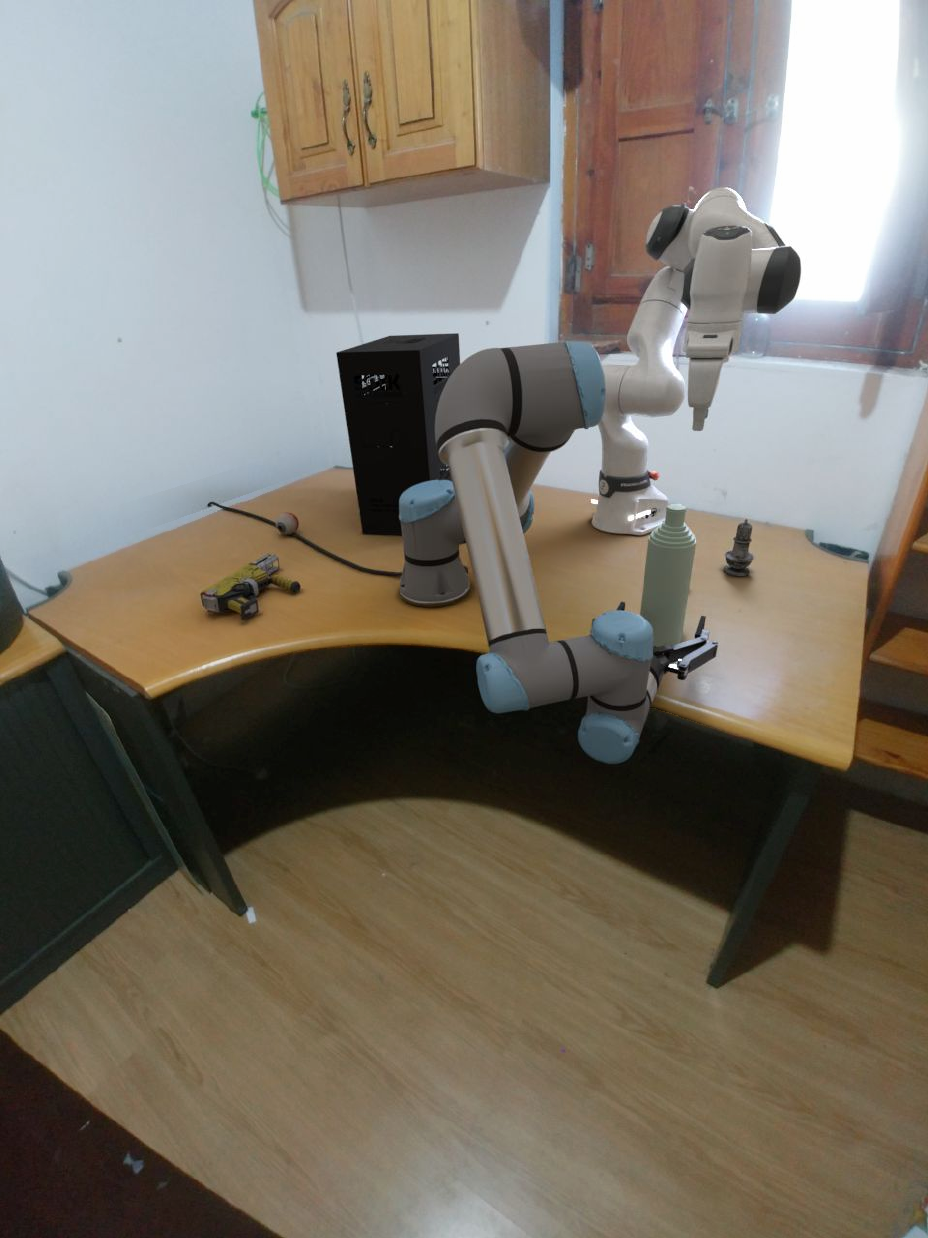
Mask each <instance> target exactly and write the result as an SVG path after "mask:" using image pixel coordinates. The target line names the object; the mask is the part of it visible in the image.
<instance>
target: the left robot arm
mask: <svg viewBox="0 0 928 1238" xmlns="http://www.w3.org/2000/svg"><path fill="white" fill-rule="evenodd" d="M602 365H603V363H602V360H601V357H600V356H599V353H598V351H597V350H596V348H595V347H594V346H593V345H592V344H591V343H588V342H586V341H569V340H564V341H559V342H549V343H539V344H530V345H519V346H510V347H509V346H508V347H490V348H485V349H482V350H479V351H477V352H475V353H473V354H471V355H470V356H468V357H467V358H465V359H464V360H463V361H462V362H460V365H459V366H458V367H457V368H456V369H455V370H454V372H453V373H452V375H451V376H450V378H449V379H448V381H447V383H446V385H445V387H444V389H443V391H442V394H441V396H440V399H439V402H438V406H437V412H436V417H435V440H436V445H437V450H438V454H439V458H440V460H441V461H442V462H443V463H444V464H446V466H449V468H448V469H450V474H451V478H452V481H449V480H440V481H439V480H431V481H426V482H422V483H419V484H417V485H414V486H412V487H410V488H408V489H407V490H406V491H404V492H403V494H402V495H401V497H400V499H399V519H400V521H401V529H402V535H401V536H402V547H403V556H404V562H403V566H402V567H403V568H402V571H387V570H380V569H374V568H368V567H364V566H361V565H359V564H357V563H355V562H352V561H349V560H348V559H345V558H342V557H340V556H338V555H336V554H334V553H332V552H330V551H328V550H327V549H325V548H322V547H320V545H319V546H318V545H317V544H316V543H314V542H312V541H311V540H308V539H307V538H305V537H304V536H302V535H301V534H298V533H296V532H294V533H292V534H291V536H293V537H296V538H298V539H299V540H301V541H302V542H304V543H306V544H307V545H309V546H311V547H313V548H314V549H315V550H317V551H319V552H321V553H323V554H324V555H327V556H328V557H331V558H333V559H335V560H337V561H339V562H341V563H344V564H346V565H348V566H350V567H352V568H355V569H357V570H359V571H362V572H366V573H371V574H375V575H376V574H378V575H384V576H386V575H387V576H393V577H395V576H396V577H400V579H399V580H400V581H399V587H398V588H399V589H398V590H399V596H400V598H401V600H403V601H404V602H405V603H407V604H409V605H412V606H415V607H419V608H441V607H446V606H450V605H454V604H457V603H458V602H460V601H462V600H463V599H465V598H466V597H467V596H468V595H469V593H470V591H471V585H470V583H471V582H470V579H469V576H468V575H469V567H467V566H466V565H464V563H463V561H462V559H461V556H460V545H465V546H466V551H467V555H468V559H469V564H470V568H471V572H472V577H473V582H474V586H475V590H476V591H475V592H476V595H477V599H478V604H479V608H480V613H481V617H482V622H483V627H484V631H485V636H486V640H487V646H488V649H489V652H487V653H485V654H481V655H480V656H479V657H478V658H477V659H476V667H475V669H476V676H477V685H478V690H479V693H480V697H481V700H482V702H483V704H484V706H485V708H486V709H487V710H489V712H491V713H494V714H505V713H509V712H516V711H529V709H532V708H535V707H536V708H537V707H541V706H542V707H543V706H545V705H551V704H555V703H559V702H564V701H570V700H576V699H581V698H586V697H587V705H586V713H585V714H584V715H583V717H582V718H581V719H580V725H579V728H578V731H577V739H578V743H579V746H580V747H581V749H582V750H583V751H584V752H585V754H586V755H587V756H589V757H590V758H592V760H594V761H597V762H601V763H604V764H608V765H618V764H622V763H624V762H626V761H628V760H629V759H630V758H631V756H632V755H633V753H634V751H635V750H636V747H637V746H638V745H639V744H640V737H641V735H642V732H643V728H644V725H645V723H646V720H647V718H648V715H649V712H650V710H651V708H652V705H653V702H654V700H655V698H656V695H657V692H658V689H659V688H660V684H661V683H662V679H663V677H664V675H666V674H667V673H671V674H674V675H676V679H678V680H679V681H685V680H686V678H687V677H688V675H689V674H690V673H692V672H694V671H695V670H696V669H698V668H700V667H701V666H703V665H705V664H707V663H708V662H710V661H712V660H713V659H715V658H717V653H718V647H719V642H718V641H716V640H711V641H709V637H710V630H708V629H705V625H706V619H707V616H705V615H700V618H699V621H698V624H697V627H696V630H695V633H694V638H692V639H689V640H685V641H681V642H680V643H678V644H675V645H672V646H669V645H663V646H660V647H656V646H653V629H652V626H651V624H650V623H649V622H648V621H647V620H646V619H645V618H644V617H642V616H641V615H640V614H638V613H636V612H632V611H629V610H625V609H626V602H625V601H620V603H619V604H618V606H617V608H616V609H615V610H609V611H605V612H603V613H601V615H597V616H596V617H595V618H592V619H591V628H590V630H589V631H590V632H589V633H590V634H587V635H582V636H577V637H570V638H565V639H560V640H554V641H550V639H549V635H548V632H547V626H546V622H545V617H544V614H543V610H542V606H541V602H540V597H539V593H538V589H537V585H536V581H535V576H534V572H533V569H532V565H531V560H530V556H529V551H528V548H527V543H526V539H525V533H527V532H528V531H529V529H530V528H531V526H532V524H533V520H534V517H533V515H534V514H535V501H534V495H533V492H532V490H531V489H532V488H531V487H532V486H533V484H534V482H535V480H536V479H537V477H538V475H539V474H540V472H541V470H542V468H543V466H544V465H545V463H546V461H547V459H548V458H549V456H550V454H551V452H555V451H557V450H559V449H561V448H562V447H564V446H565V445H566V444H567V443H568V442H569V440H570V439H571V438H572V436H573V434H574V432H575V431H576V430H579V429H580V430H581V429H584V430H589V428H594V427H596V426H598V424H599V422H600V421H601V419H602V417H603V413H604V409H605V401H606V386H605V377H604V371H603V366H602ZM212 505H213V506H215V507H217V508H220V509H223V510H227V511H231V512H234V513H239V514H241V515H246V516H249V517H252V518H255V519H258V520H261V521H264V522H265V523H269V524H271V525H273V526H275V527H276V521H273V520H271V519H268V518H266V517H263V516H261V515H257V514H255V513H253V512H252V513H251V512H248V511H245V510H242V509H238V508H234V507H229V506H225V505H221V504H219V503H217V502H215V501H209V502H208V503H207V505H206V506H207V507H211V506H212Z"/></svg>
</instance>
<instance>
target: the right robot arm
mask: <svg viewBox="0 0 928 1238" xmlns="http://www.w3.org/2000/svg"><path fill="white" fill-rule="evenodd" d="M645 239H646V240H645V244H644V245H645V247H644V248H645V251H646V252H645V253H646V254H647V255H648V256H649V257H651V258H652V259H653V260H655V261H659V262H661V263H662V264H664V266H665V265H666V266H665V267H662V268H661V269H660V270H658V271H657V273H655V275H654V276H653V278H652V279H651V281H650V283H649V285H648V286H647V288H646V290H645V292H644V294H643V296H642V298H641V300H640V302H639V305H638V307H637V310H636V312H635V315H634V317H633V319H632V321H631V324H630V327H629V329H628V333H627V337H626V338H627V339H626V341H627V346H628V348H629V350H630V351H631V353H633V355H634V356H636V357H637V358H638V359H639V360H638V361H637V363H636V364H634V365H627V364H625V365H624V364H608V363H607V364H602V366H603V371H604V377H605V386H606V401H605V409H604V413H603V417H602V419H601V421H600V422H599V424H598V425H597V426H598V430H599V433H600V438H601V468H600V470H599V474H598V492H599V493H598V498H597V499H592V498H591V499H590V501H591V502H590V503H591V504H595V505H596V507H595V511H594V514H593V517H592V520H591V525H592V526H593V527H594V528H595V529H597V530H599V531H601V532H605V533H611V534H623V535H625V534H626V535H632V536H633V535H634V536H645V535H646V534H650V533H651V532H652V531H654V530H655V529H656V528H657V527H658V526H659V525H660V524H662V523H663V522H664V521H665V517H666V506H667V505H669V504H670V503H669V502H670V501H669V498H668V497H667V496H666V495H665V494H664V493H663V492H661V491H660V490H659V489H658V488H656V487H655V486H654V485H652V483H651V480H653V481H658V479H659V478H660V473H659V472H657V471H654V470H651V471H649V470H648V469H647V466H648V458H649V457H648V455H649V446H650V443H649V440H648V437H647V436H646V434H645V433H644V432H642V431H641V430H640V429H638V427H636V425H635V424H634V422H633V419H632V416H633V417H641V418H642V417H643V418H662V417H669V416H673V415H674V414H675V413H676V412H677V411H678V410H679V409H680V408H681V406H682V404H683V402H684V400H685V397H686V393H687V404H688V407H689V408H693V410H692V427H691V429H692V431H693V432H701V431H703V430H704V427H705V423H706V422H705V421H706V419H707V418H708V416H709V412H710V408H711V407H712V405H713V401H714V399H715V396H716V392H717V390H718V387H719V385H720V379H721V372H722V368H723V365H724V363H729V361H730V355H732V354H733V353H735V352H738V351H739V348H740V342H741V335H742V329H743V323H744V314H755V313H756V314H764V315H765V314H766V315H767V314H768V315H776V314H777V313H779V312H780V311H781V310H783V309H784V308H786V306H788V305H789V304H790V303H791V302H792V301H793V300H795V297H796V295H797V292H798V289H799V287H800V282H801V278H802V262H801V257H800V256H799V254H798V252H797V251H796V250H795V249H794V248H793V247H792V246H791V245H786V244H785V242H784V241H783V240H782V238H781V237H780V235H779V234H778V232H777V231H776V229H775V227H773V226H772V225H771V224H769V223H768V222H766V221H764V220H761V219H760V218H758V217H757V216H755V215H753V214H751V213H750V212H749V211H747V208H746V205H745V203H744V201H743V199H742V197H741V196H740V195H739V194H738V193H737V191H735V190H733V189H731V188H730V187H729V188H728V187H717V188H713V189H712V190H710V191H708V192H707V193H705V194H704V195H703V196H702V197H701V199H700V200H699V201H698V203H696V205H695V207H694V209H691V208H690V207H688V206H687V203H685V202H683V203H681V204H680V205H677V204H676V205H675V204H674V205H671V204H670V205H668V206H666V207H664V208H662V209H661V210H660V212H659V213H657V215H656V216H655V217H654V218H653V220H652V222H651V223H650V225H649V227H648V229H647V233H646V238H645ZM687 312H688V314H687ZM686 315H687V317H686ZM685 317H686V323H685V331H684V340H683V348H682V351H683V352H684V353H685V358H686V359H688V372H687V373H688V374H687V375H688V376H687V391H686V381H685V379H684V377H683V375H682V374H681V373H680V372H679V370H678V369H677V368H676V366H675V363H674V359H673V358H674V349H675V345H676V341H677V339H678V335H679V332H680V330H681V328H682V326H683V323H684V320H685Z"/></svg>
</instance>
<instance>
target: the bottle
mask: <svg viewBox="0 0 928 1238" xmlns="http://www.w3.org/2000/svg"><path fill="white" fill-rule="evenodd" d="M686 513H687V506H686V505H684V504H681V503H669V505H667V506H666V517H665V521H664V522H663V523H662V524H660V525H659V526H658V527H657V528H656V529H655V530H654V531H652V532H650V534H649V535H648V537H647V538H648V539H647V547H646V556H645V565H644V573H643V584H642V595H641V602H640V611H639V615H641V616H642V617H644V618H645V619H646V620H647V621H648V622H649V623H650V624H651V626H652V629H653V646H656V647H660V646H663V645H669V646H672V645H675V644H678V643H682V638H683V634H684V633H683V632H684V626H685V619H686V611H687V605H688V598H689V593H690V587H691V581H692V580H691V579H692V574H693V573H692V572H693V567H694V561H695V554H696V553H695V552H696V547H697V538H696V535H695V534H694V533H693V531H692V530H691V529H690V527H689V526H688V525H687V523H686V522H685V518H686Z"/></svg>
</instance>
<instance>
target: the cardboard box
mask: <svg viewBox="0 0 928 1238" xmlns="http://www.w3.org/2000/svg"><path fill="white" fill-rule="evenodd" d="M460 353H461V352H460V334H459V332H458V333H457V332H455V333H453V332H452V333H430V334H427V333H426V334H425V333H424V334H403V335H401V334H400V335H387V336H384V337H381V338H378V339H375V340H372V341H368V342H365V343H362V344H359V345H355V346H353V347H350V348H346V349H343V350H340V351H337V352H335V354H336V359H337V360H336V361H337V367H338V374H339V381H340V388H341V395H342V402H343V409H344V415H345V423H346V429H347V436H348V442H349V449H350V457H351V463H352V471H353V475H354V476H353V478H354V484H355V490H356V491H355V492H356V498H357V504H358V511H359V520H360V525H361V526H360V527H361V532H362V534H371V535H396V536H402V529H401V521H400V519H399V499H400V497H401V495H402V494H403V492H404V491H406V490H407V489H408V488H410V487H412V486H414V485H417V484H419V483H422V482H426V481H431V480H439V481H440V480H449V481H452V478H451V474H450V469H449V466H447V465H446V464H444V463H443V462H442V461H441V460H440V458H439V454H438V450H437V445H436V440H435V417H436V412H437V406H438V402H439V399H440V396H441V394H442V391H443V389H444V387H445V385H446V383H447V381H448V379H449V378H450V376H451V375H452V373H453V372H454V370H455V369H456V368H457V367H458V366H459V365H460V364H461V354H460ZM443 360H444V361H443ZM439 362H440V363H441V364H439ZM434 365H435V366H434Z"/></svg>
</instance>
